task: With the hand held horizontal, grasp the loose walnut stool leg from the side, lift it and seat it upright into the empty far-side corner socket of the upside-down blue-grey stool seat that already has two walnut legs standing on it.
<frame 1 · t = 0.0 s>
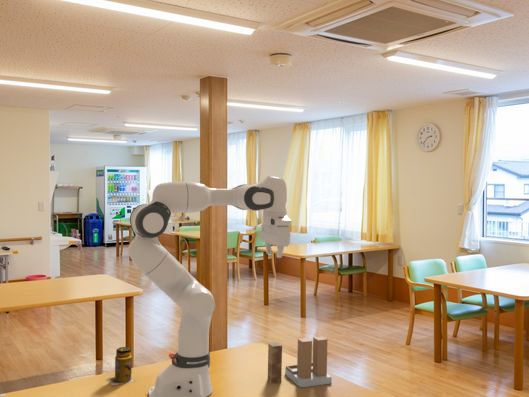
hand: (273, 255, 191), 48 cm above the table, tool pointing down, fingers open, 8 cm apart
condiment: (120, 381, 190), on the table
stool leg: (274, 380, 193), on the table
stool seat: (307, 378, 195), on the table
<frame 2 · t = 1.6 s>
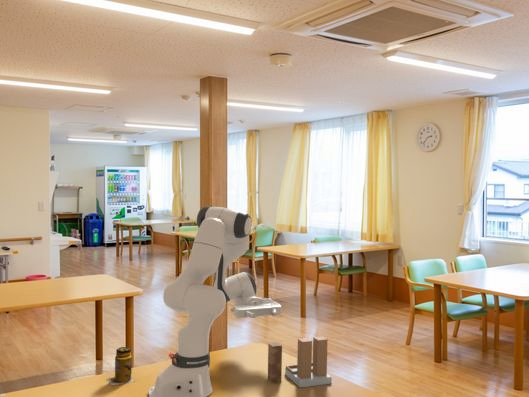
hand: (264, 315, 203), 22 cm above the table, tool horizontal, fingers open, 8 cm apart
nothing on the table moved.
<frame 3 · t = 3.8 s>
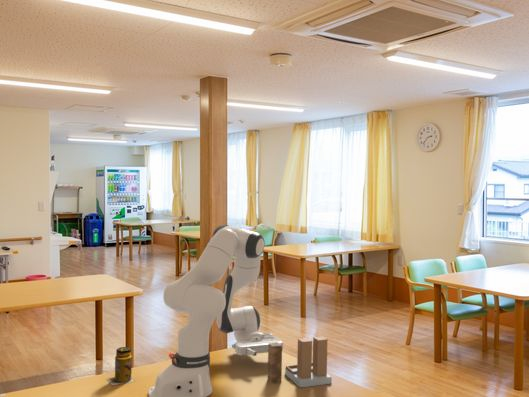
hand: (265, 352, 201), 8 cm above the table, tool horizontal, fingers open, 8 cm apart
nothing on the table moved.
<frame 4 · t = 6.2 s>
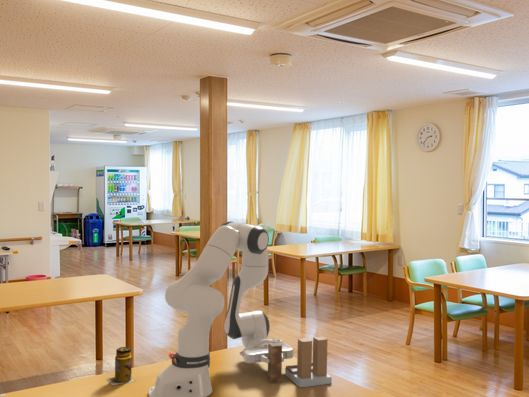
hand: (275, 360, 192), 8 cm above the table, tool horizontal, fingers closed on stool leg, 4 cm apart
stool leg: (274, 380, 193), on the table, touching gripper
everything else where it was.
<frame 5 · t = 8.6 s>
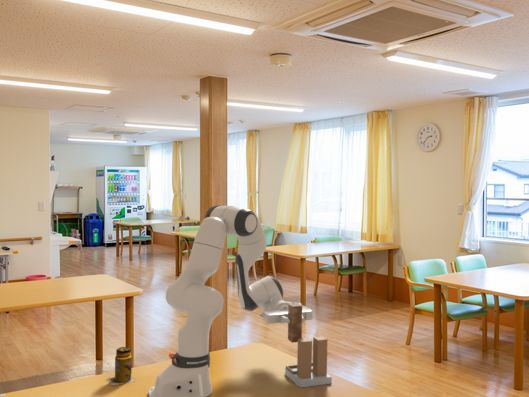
hand: (296, 320, 195), 22 cm above the table, tool horizontal, fingers closed on stool leg, 4 cm apart
stool leg: (294, 340, 197), point 14 cm above the table, touching gripper
everything else where it was.
when the fingers open (12 cm above the table, at t = 11.0 s): stool leg drops 1 cm, resting on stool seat.
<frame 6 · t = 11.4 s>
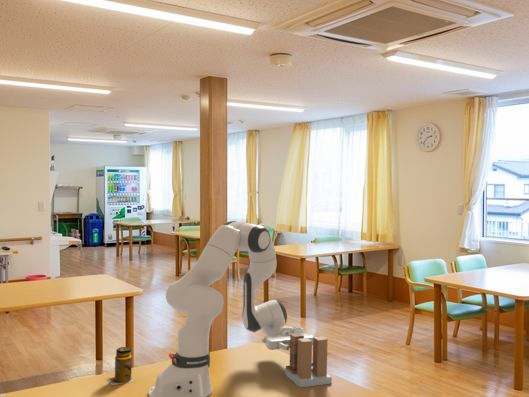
hand: (298, 347, 196), 12 cm above the table, tool horizontal, fingers open, 8 cm apart
stool leg: (296, 370, 197), point 3 cm above the table, touching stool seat
everything else where it was.
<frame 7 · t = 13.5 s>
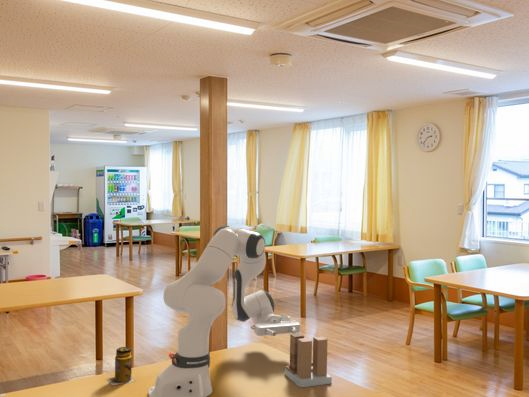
hand: (284, 333, 208), 14 cm above the table, tool horizontal, fingers open, 8 cm apart
nothing on the table moved.
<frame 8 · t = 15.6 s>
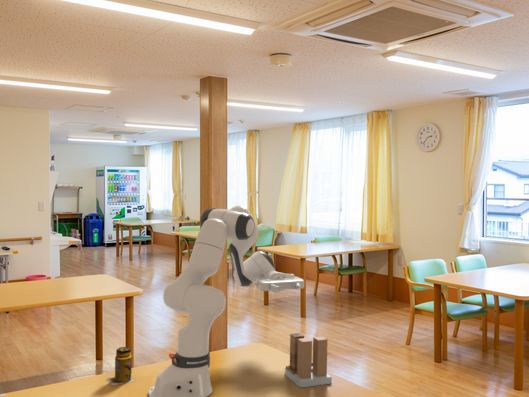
hand: (288, 288, 210), 32 cm above the table, tool horizontal, fingers open, 8 cm apart
nothing on the table moved.
at the end: stool leg 0.1 cm from the target spot on the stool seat, point 2.5 cm above the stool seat's base; stool leg tilted 0°; the gripper is holding nothing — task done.
